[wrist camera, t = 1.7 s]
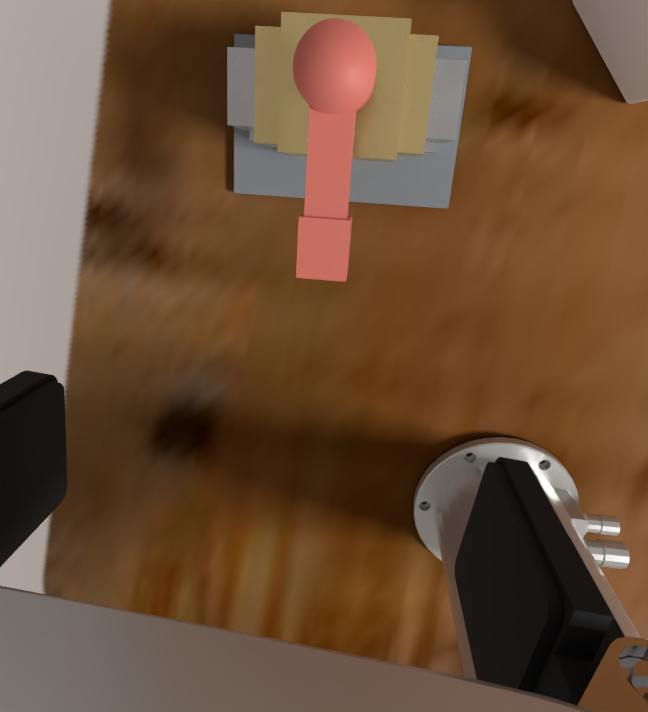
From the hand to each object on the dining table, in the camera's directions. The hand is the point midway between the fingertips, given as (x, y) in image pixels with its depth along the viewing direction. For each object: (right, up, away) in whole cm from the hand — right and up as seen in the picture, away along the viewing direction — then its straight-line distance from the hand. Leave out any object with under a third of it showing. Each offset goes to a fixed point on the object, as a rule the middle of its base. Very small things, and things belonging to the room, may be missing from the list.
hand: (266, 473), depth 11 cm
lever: (+2, +11, +11) cm, 16 cm away
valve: (+3, +18, +20) cm, 27 cm away
